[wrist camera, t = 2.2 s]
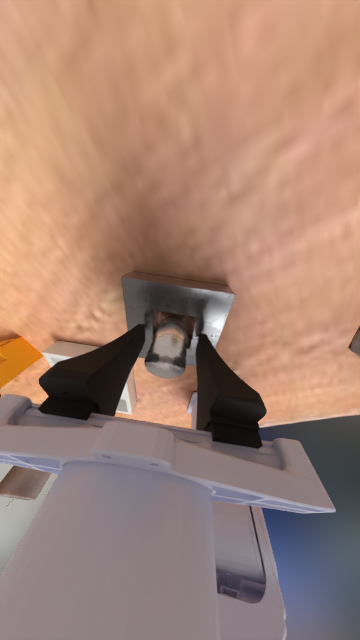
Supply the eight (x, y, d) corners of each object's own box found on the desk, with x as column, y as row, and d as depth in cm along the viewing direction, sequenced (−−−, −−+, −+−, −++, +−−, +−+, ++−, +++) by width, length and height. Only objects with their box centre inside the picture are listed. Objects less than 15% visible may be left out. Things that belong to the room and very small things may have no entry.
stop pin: (190, 309, 15) (188, 355, 9) (186, 331, 17) (182, 381, 11) (163, 305, 15) (143, 348, 9) (162, 327, 17) (145, 375, 11)
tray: (131, 352, 20) (123, 365, 18) (136, 401, 28) (132, 414, 26) (58, 340, 20) (41, 352, 18) (85, 393, 28) (76, 405, 26)
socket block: (228, 285, 13) (235, 294, 11) (205, 353, 18) (207, 368, 16) (133, 271, 13) (121, 276, 11) (138, 342, 18) (130, 355, 16)
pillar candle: (57, 433, 46) (7, 505, 34) (39, 422, 41) (-28, 502, 29) (81, 435, 45) (38, 510, 33) (65, 423, 40) (8, 507, 28)
